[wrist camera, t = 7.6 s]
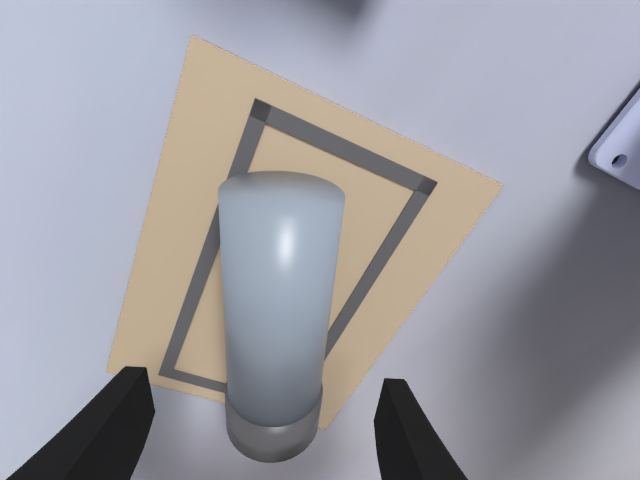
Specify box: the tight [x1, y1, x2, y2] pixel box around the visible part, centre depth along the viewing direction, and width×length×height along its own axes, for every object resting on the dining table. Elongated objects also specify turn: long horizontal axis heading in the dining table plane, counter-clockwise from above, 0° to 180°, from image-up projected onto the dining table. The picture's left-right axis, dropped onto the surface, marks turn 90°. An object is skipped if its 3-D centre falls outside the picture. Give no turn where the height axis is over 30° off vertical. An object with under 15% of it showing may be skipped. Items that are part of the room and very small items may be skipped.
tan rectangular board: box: [106, 35, 503, 430], centre depth 16 cm, size 12×16×1 cm
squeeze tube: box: [218, 171, 345, 463], centre depth 14 cm, size 4×11×4 cm, turn 175°
